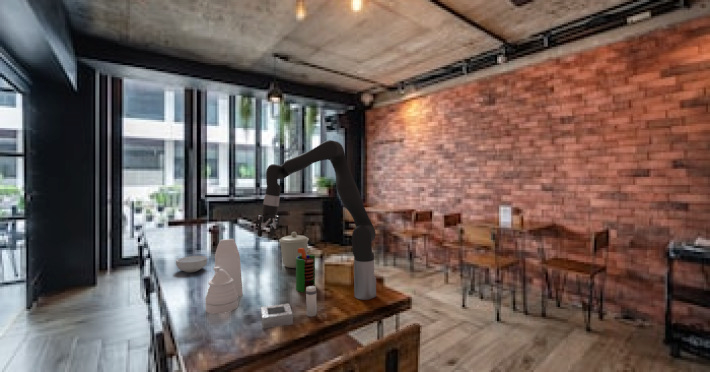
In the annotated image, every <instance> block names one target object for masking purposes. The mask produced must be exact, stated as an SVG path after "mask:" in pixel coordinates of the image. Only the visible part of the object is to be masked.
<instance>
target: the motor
mask: <svg viewBox="0 0 710 372" xmlns="http://www.w3.org/2000/svg"><path fill="white" fill-rule="evenodd" d="M298 253H301V254H302V255H301V256H297V257H296V268H295V290H296V291H297V292H301V293H306V287H309V286H315V287H316V256H315V255H314V254H307V255H306V252H305V249H304V248H299V249H298Z"/></svg>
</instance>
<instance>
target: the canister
mask: <svg viewBox="0 0 710 372" xmlns="http://www.w3.org/2000/svg"><path fill="white" fill-rule="evenodd" d="M309 240H310V237H309V238H308V237H307V236H305V235H298V233H297V232H296V231H292V232H291V233H290V235H286V236H282V237H281V238H279V240H278V241H279V244H280V252H281V259H282V264H283V266H284V267H286V268H290V269H296V257H297V256H301V255H302V254H301V253H298V249H299V248H304V249H305V252H306V255H308V254H307V253H308V244H309V243H308V242H309Z"/></svg>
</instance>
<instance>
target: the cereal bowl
mask: <svg viewBox="0 0 710 372" xmlns="http://www.w3.org/2000/svg"><path fill="white" fill-rule="evenodd" d="M175 260H176V261H175V262H176V263H175V265H176V267H177V269H179V271H184V272H185V273H195V272H198V271H200V270H202V269H203V268H205V267H206V266H207V263H208V257H207V256H204V255H193V256H185V257H181V258H178V259H175Z"/></svg>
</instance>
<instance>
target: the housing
mask: <svg viewBox="0 0 710 372" xmlns="http://www.w3.org/2000/svg"><path fill="white" fill-rule="evenodd" d="M260 317H261V318H260V319H261V327H262V329H270V328H276V327H283V326H290V325H294V324H293V323H294V322H293V321H294V320H293V312H292V309H291V306H290V303H281V304H276V305H275V304H274V305H267V306H266V305H265V306H261V307H260Z"/></svg>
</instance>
